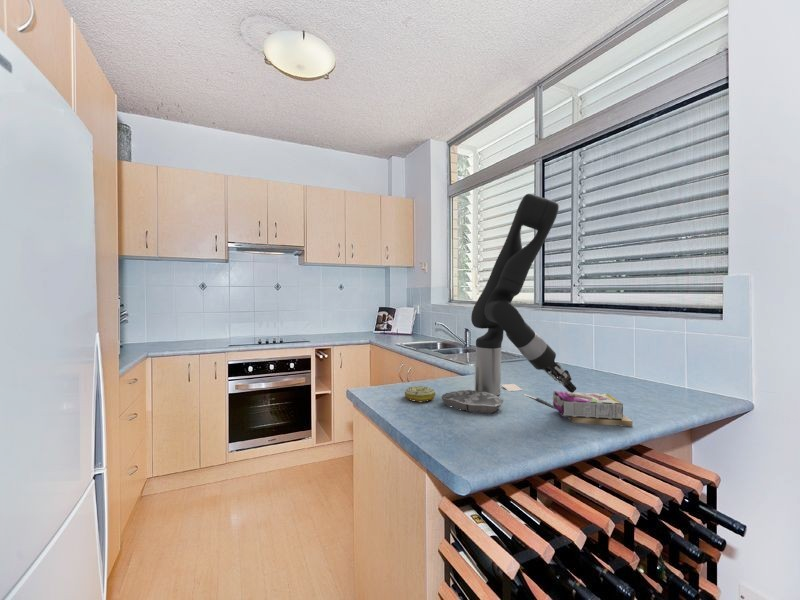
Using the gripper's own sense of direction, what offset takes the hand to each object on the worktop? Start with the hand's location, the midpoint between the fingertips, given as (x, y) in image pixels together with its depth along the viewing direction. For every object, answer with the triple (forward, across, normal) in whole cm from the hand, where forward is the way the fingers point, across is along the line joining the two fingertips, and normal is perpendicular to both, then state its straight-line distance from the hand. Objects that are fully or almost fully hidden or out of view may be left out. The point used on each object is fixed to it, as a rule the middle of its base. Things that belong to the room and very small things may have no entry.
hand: (573, 390), depth 113 cm
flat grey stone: (-14, +12, +26) cm, 31 cm away
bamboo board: (+10, 0, +1) cm, 10 cm away
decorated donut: (-25, +21, +37) cm, 49 cm away
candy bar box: (-1, 0, +6) cm, 6 cm away
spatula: (+3, +20, +9) cm, 22 cm away
